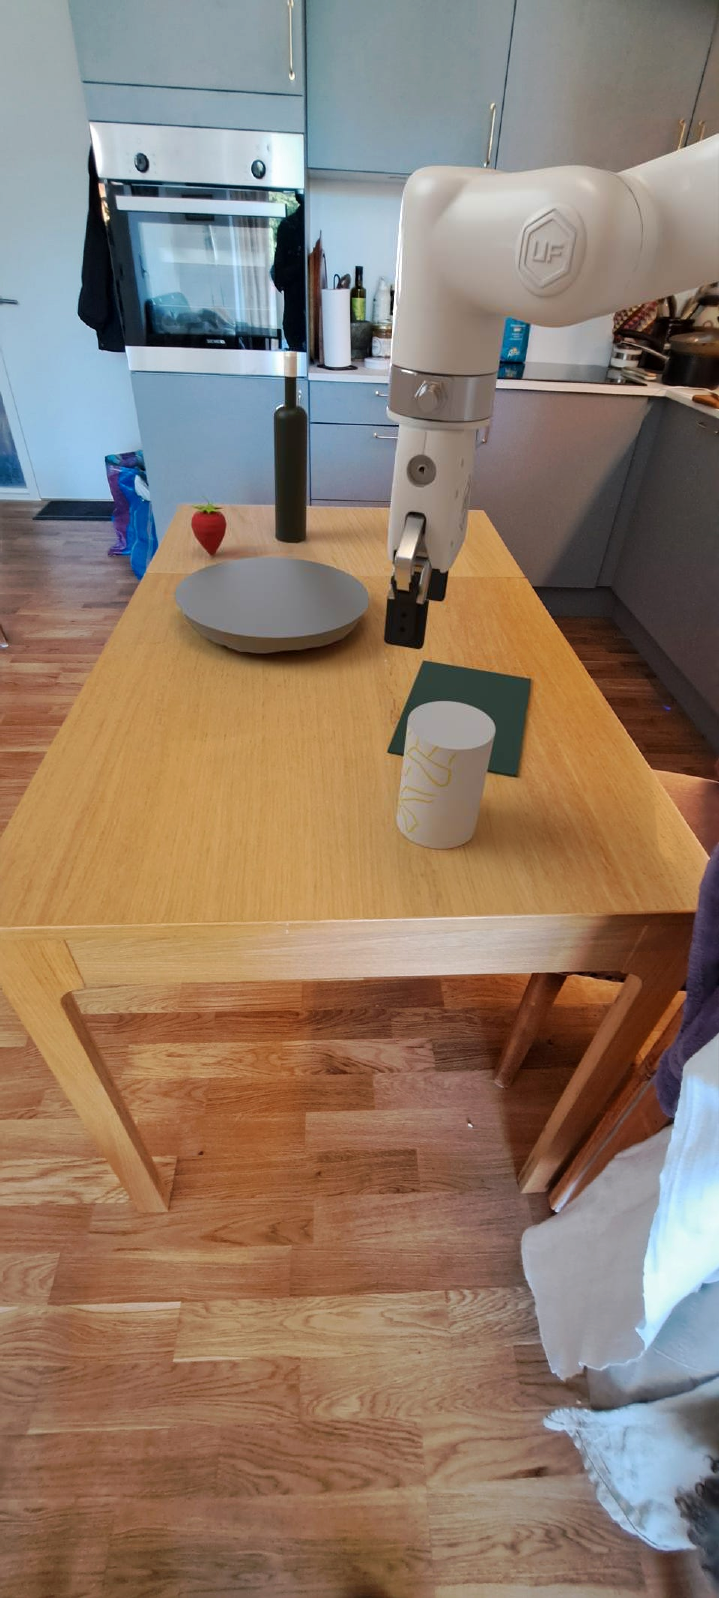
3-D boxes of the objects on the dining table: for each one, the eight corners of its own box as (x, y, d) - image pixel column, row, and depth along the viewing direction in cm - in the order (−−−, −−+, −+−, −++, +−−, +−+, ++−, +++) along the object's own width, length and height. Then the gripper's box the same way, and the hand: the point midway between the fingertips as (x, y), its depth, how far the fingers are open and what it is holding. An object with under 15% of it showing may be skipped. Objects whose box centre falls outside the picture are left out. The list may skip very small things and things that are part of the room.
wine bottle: (275, 531, 140) (273, 347, 121) (306, 532, 140) (308, 349, 121) (275, 542, 135) (272, 353, 116) (306, 543, 136) (308, 355, 117)
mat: (530, 680, 100) (531, 678, 100) (517, 777, 82) (517, 775, 82) (422, 662, 102) (423, 660, 102) (387, 752, 85) (387, 750, 85)
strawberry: (191, 562, 125) (185, 502, 119) (196, 546, 131) (191, 488, 125) (226, 563, 126) (222, 503, 120) (230, 547, 132) (226, 489, 125)
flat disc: (172, 588, 117) (169, 560, 114) (343, 580, 123) (344, 554, 120) (184, 675, 96) (181, 644, 93) (389, 660, 102) (392, 630, 99)
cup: (383, 807, 77) (392, 710, 69) (449, 790, 80) (466, 695, 72) (420, 857, 71) (435, 757, 64) (490, 837, 74) (512, 738, 67)
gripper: (475, 427, 45) (441, 675, 56) (506, 382, 58) (473, 589, 69) (357, 413, 46) (345, 658, 57) (414, 372, 59) (396, 577, 70)
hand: (416, 620), depth 63 cm, fingers open, 9 cm apart
